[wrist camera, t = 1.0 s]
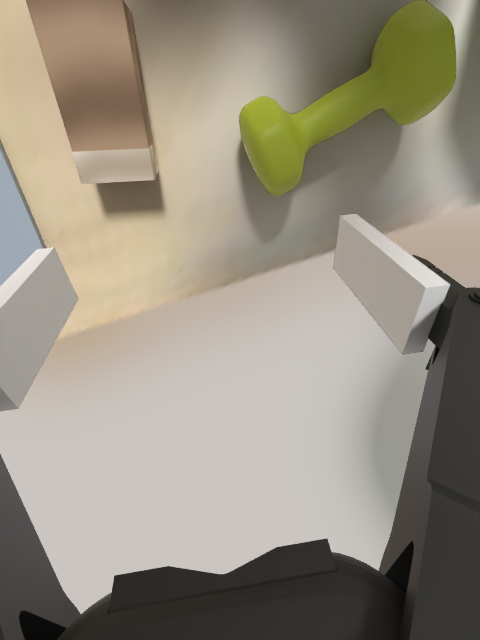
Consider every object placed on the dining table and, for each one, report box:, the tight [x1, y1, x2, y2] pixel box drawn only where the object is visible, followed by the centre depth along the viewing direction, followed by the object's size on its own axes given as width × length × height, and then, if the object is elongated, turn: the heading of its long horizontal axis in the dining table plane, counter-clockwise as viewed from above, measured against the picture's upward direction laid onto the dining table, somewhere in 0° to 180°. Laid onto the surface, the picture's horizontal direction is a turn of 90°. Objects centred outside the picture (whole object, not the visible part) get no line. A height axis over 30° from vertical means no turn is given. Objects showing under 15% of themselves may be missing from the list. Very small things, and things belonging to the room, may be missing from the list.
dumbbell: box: [239, 0, 456, 196], centre depth 26 cm, size 16×8×7 cm, turn 116°
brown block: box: [26, 0, 158, 184], centre depth 24 cm, size 11×6×4 cm, turn 1°
